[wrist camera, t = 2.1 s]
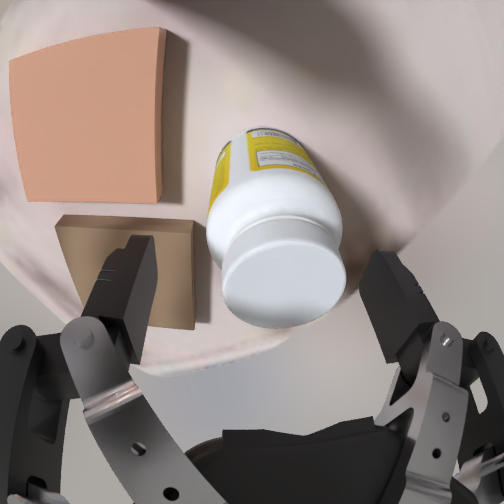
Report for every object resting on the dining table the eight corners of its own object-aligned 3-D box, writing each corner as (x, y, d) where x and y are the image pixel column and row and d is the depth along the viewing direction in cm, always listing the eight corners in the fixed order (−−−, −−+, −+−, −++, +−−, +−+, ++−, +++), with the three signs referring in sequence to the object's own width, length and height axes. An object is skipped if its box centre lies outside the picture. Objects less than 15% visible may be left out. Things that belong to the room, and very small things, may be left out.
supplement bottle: (244, 220, 19) (248, 354, 11) (199, 152, 16) (159, 267, 8) (320, 186, 17) (379, 308, 10) (284, 108, 14) (340, 184, 7)
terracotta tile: (166, 29, 11) (159, 26, 10) (162, 191, 17) (157, 203, 16) (23, 57, 10) (9, 61, 9) (38, 191, 16) (27, 201, 15)
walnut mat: (193, 220, 18) (190, 233, 17) (195, 316, 25) (194, 330, 24) (63, 214, 17) (54, 226, 16) (93, 305, 24) (88, 317, 23)
